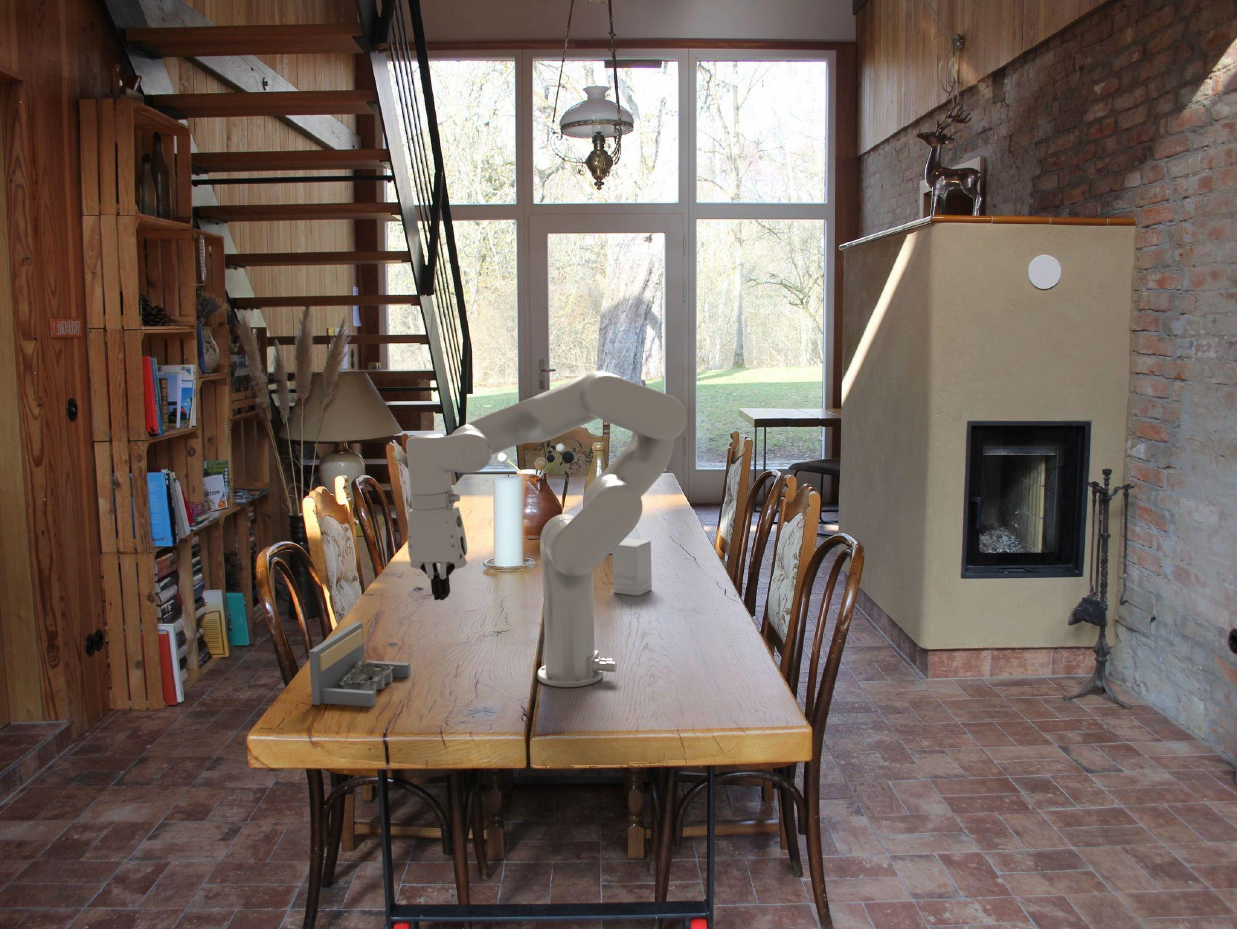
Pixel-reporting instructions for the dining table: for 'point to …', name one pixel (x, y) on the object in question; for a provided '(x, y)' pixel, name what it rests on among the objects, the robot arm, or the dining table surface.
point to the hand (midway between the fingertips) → (441, 597)
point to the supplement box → (632, 567)
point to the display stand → (344, 668)
